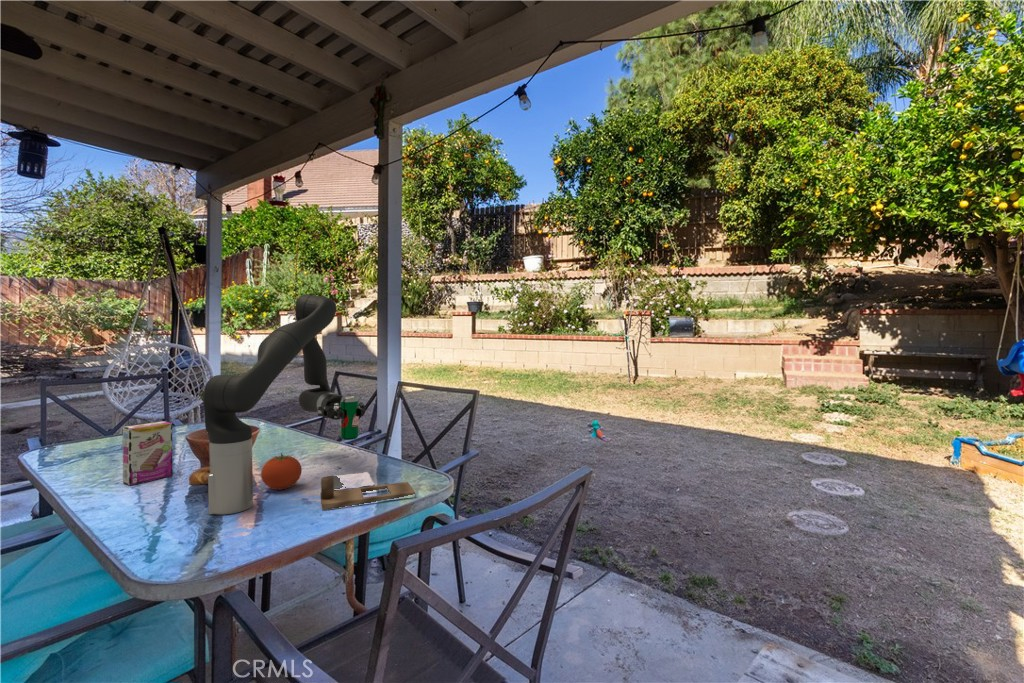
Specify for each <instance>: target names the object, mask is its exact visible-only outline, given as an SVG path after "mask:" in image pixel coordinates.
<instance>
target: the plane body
mask: <svg viewBox="0 0 1024 683" xmlns="http://www.w3.org/2000/svg"><path fill="white" fill-rule="evenodd" d="M320 485H321V486H320V491H321V492H320V496H319V497H320V504H321V510H324V511H328V510H327V509H331V510H333V509H332V508H338V509H340V508H339V507H345V506H352V505H359V504H364V503H371V502H376V501H381V500H387V499H394V498H399V497H404V496H408V495H413V494H415V495H416V491H415V490H414V489H413V487H412V486H411V484H410V483H409V481H403V482H395V483H387V484H386V483H385V484H379V485H374V486H368V487H360V488H352V489H344V490H336V491H334V477H327V476H324V477H321V479H320ZM385 488H387V489H388V492H389V493H390V494H388V492H387V494H380V495H374V496H365V497H364V494H362V492H366V491H373V490H379V489H385Z"/></svg>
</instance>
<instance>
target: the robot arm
mask: <svg viewBox="0 0 1024 683" xmlns="http://www.w3.org/2000/svg"><path fill="white" fill-rule="evenodd" d="M294 308H295V309H294V313H295V315H294V317H295V321H291V322H289V323H286V324H284V325H281V326H279V327H277V328H275V329H274V330H273V331H271V332H270V333H269V334H268V335H267V336H266V337H265V338H264V339H263V340H262V341H261V342H260V344H259V346H258V349H257V362H256V364H254V365H253V367H252V368H250V369H249V370H248V371H247V372H245V373H244V374H240V375H239V374H238V375H237V374H217V375H214V376H212V377H210V378H209V379H208V380H207V381H206V383H205V386H204V388H203V396H202V398H203V399H202V400H203V402H202V403H203V413H204V427H205V430H206V432H207V435H208V438H209V439H208V440H209V442H208V443H209V445H208V446H209V449H208V450H209V453H208V454H209V467H210V474H209V475H208V487H207V488H208V489H207V490H208V515H231V514H232V515H233V514H237V513H241V512H243V511H246V510H248V509H251V508H252V507H253V505H254V490H253V489H254V483H253V482H254V481H253V474H254V473H253V472H254V471H253V431H252V426H251V425H249V424H247V423H245V422H244V421H241V419H239V418H238V416H237V413H238V414H239V413H240V414H242V413H247V412H249V411H250V410H252V409H253V408H254V407H255V406H256V405H257V404H258V403H259V401H260V400H261V398H262V397H263V396H264V394H266V391H267V390H268V389H269V387H270V386H271V384H272V383H273V382H274V380H275V379H276V378H277V377H278V376H279V375H280V374H281V373H282V372H283V371H284V369H285V368H286V367H287V366H288V365H289V364H290V363H291V362H292V361H293V360H294V359H295V358H296V357H297V355H299V353H300V352H301V351H302V355H303V378H304V382H305V383H306V384H307V385H311V386H319V387H315V388H311V389H310V388H309V389H305V390H303V391H301V392H300V394H299V395H298V403H299V405H300V407H301V408H302V410H304V411H306V412H309V413H317V416H319V417H322V418H328V419H331V420H336V421H337V420H340V419H344V411H343V410H340V401H341V399H342V397H344V395H341V394H337V393H334V392H332V391H331V388H330V384H329V381H328V369H327V368H328V367H327V366H328V364H327V363H328V362H327V358H326V354H325V352H324V349H323V348H322V347H321V345H320V344H319V342H318V340H317V338H316V336H317V335H319V334H320V333H321V332H323V330H324V329H326V328H327V327H328V326H329V325H331V323H332V322H333V320H334V319H335V316H336V314H337V304H336V302H335V301H334V300H333V299H332V298H330V297H326V296H320V295H315V294H307V293H306V294H301V295H300V296H299V297H298V298H297V300H296V302H295V307H294ZM365 414H366V405H365V404H364V403H363V402H361V401H360V402H359V418H361V417H364V415H365Z"/></svg>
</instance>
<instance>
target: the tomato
mask: <svg viewBox="0 0 1024 683" xmlns="http://www.w3.org/2000/svg"><path fill="white" fill-rule="evenodd" d="M293 456H294V455H293V454H290V455H289V454H288V455H283V453H282V452H281V455H280V456H273V457H272V458H270V459H269V460H267V461H266V462H265V463H264V465H263V466H262V468H261V473H260V475H261V480H262V482H263V484H264V485H265V486H267V487H268V488H270V489H273V490H277V491H279V490H285V489H289V488H290V487H291V488H292V486H294V485H295V484H296V483H298V481H299V480H300V478H301V476H302V472H303V471H302V470H303V468H302V465H301V463H300V461H299V460H298V459H297V458H295V457H293Z"/></svg>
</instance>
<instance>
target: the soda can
mask: <svg viewBox="0 0 1024 683" xmlns="http://www.w3.org/2000/svg"><path fill="white" fill-rule="evenodd" d="M359 403H360V402H359V399H358V397H357V396H355V395H353V396H351V395H349V396H347V395H346V396H343V397H342V399H341V401H340V410H343V411H344V419H339V420H340V421H339V422H340V424H339V425H340V430H339V431H340V438H341V439H342V440H345V441H350V440H351V441H352V440H357V439H358V438H359V436H360V428H359V425H360V422H359V419H360V416H359Z"/></svg>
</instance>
